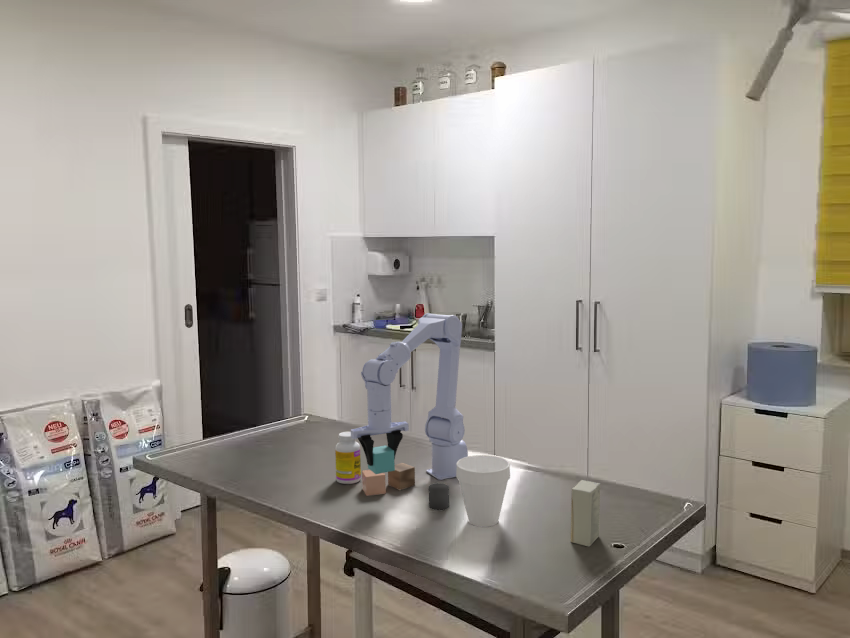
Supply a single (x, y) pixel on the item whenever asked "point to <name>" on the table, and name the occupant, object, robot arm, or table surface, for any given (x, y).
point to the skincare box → (585, 512)
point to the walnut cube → (402, 476)
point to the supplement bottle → (347, 459)
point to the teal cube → (382, 460)
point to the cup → (483, 487)
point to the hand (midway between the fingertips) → (380, 462)
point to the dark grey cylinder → (438, 496)
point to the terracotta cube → (373, 483)
